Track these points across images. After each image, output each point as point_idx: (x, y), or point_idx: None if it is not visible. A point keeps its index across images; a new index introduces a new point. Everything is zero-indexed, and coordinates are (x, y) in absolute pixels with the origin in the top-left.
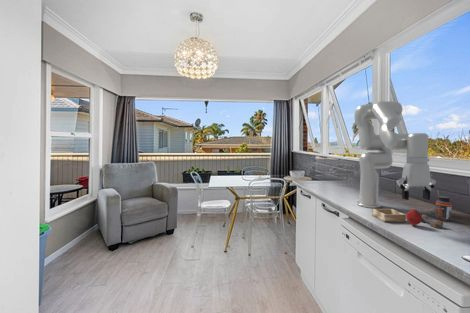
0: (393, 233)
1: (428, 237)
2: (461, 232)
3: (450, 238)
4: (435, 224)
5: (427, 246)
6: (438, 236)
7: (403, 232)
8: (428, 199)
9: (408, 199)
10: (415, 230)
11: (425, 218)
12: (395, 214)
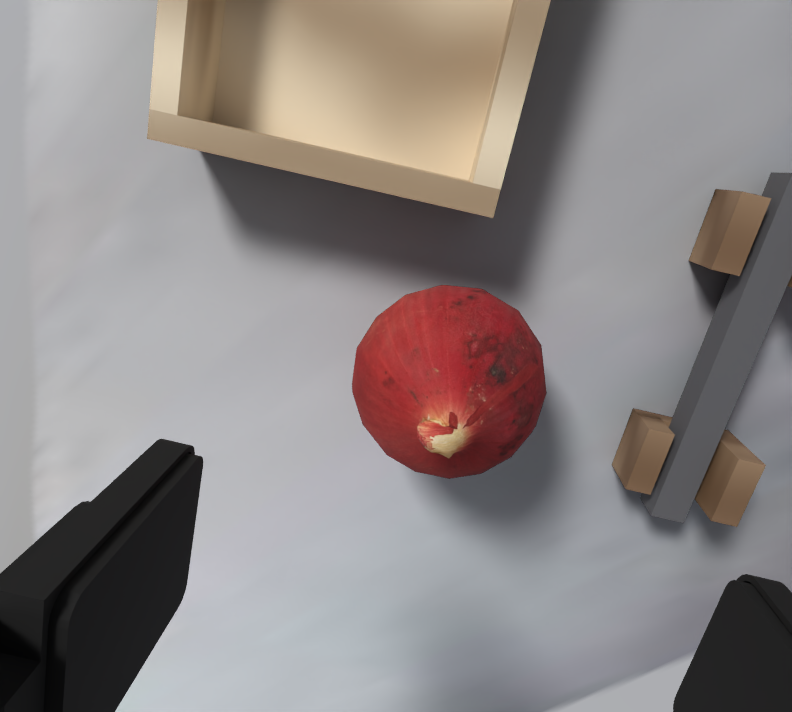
0: (33, 458)
1: (277, 605)
2: None
3: (445, 668)
4: (627, 487)
5: None
6: (389, 615)
7: None
8: (685, 709)
9: (180, 598)
10: (323, 458)
11: (766, 298)
12: (337, 160)
